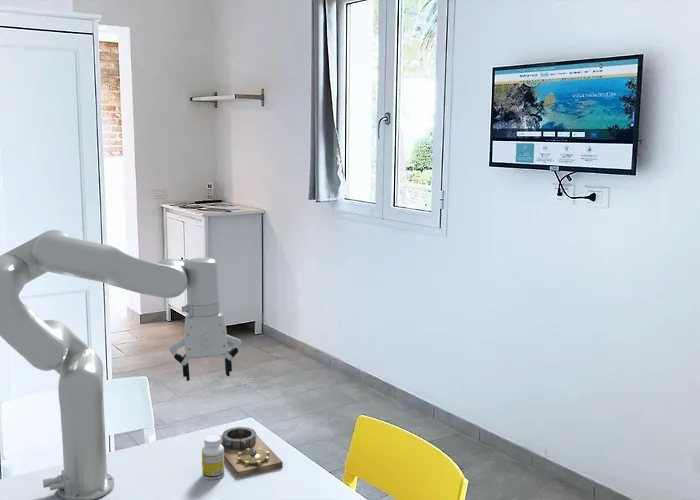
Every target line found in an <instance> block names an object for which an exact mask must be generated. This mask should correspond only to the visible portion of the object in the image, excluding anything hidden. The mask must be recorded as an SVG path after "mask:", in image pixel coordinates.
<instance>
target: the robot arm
mask: <svg viewBox="0 0 700 500" xmlns="http://www.w3.org/2000/svg"><path fill="white" fill-rule="evenodd" d="M46 273H53V274H59V275H64V276H69V277H74V278H79V279H84V280H88V281H89V280H90V281H95V282H99V283H104V284H106V285H109V286H113V287H115V288H120V289H124V290H125V291H126V290H127V291H130V292H132V293H133V292H134V293H137V294H142V295H147V296H153V297H158V298H163V299H164V298H165V299H172V298H177V297H179V296H180V295H182V294H183V293H184V292H185V290H186V300H187V301H186V302H187V304H186V305H184V306H181V312H182V313H186V315H185V318H184V329H183V330H184V331H183V333H184V334H183V339H181V340H179V341H178V342H176V343H174V344H173V345H171V346H170V347H169V352H170V354H171V355H172V356H173V358H174V360H175V361H177V362H178V363H180V364H181V365H182V375H183V377H182V378H186V382H189V381H190V380H191V379H190V367H189V365H190V364H189V362H190V360H191V359H199V358H210V357H218V356H224V357H225V358H224V367H225V368H224V369H225V374H226V376H227V377H230V375H231V372H233V368H232V367H233V365H232V363H233V361H232V360H233V359H234V357H236V356H237V354H238V353H239V350H240V348H241V347H242V344H243V341H242V340H241V339H240V338H237V337H234V336H232V335H229V334H227V326H226V320H225V316H224V313H223V312H222V311H221V309H220V308H221V307H220V294H219V293H220V291H219V289H220V288H219V275H218V274H219V273H218V264H217V261H216V259H214V258H211V257H195V258H192V259H183V258H182V259H181V258H163V259H161V260H159V261H158V262H152V261H149V260H148V261H147V260H144V259H141V258H137V257H134V256H132V255H129V254H128V253H126V252H124V251H122V250H121V249H119V248H117V247H116V246H115V247H114V246H112V245H109V244H103V243H98V242H93V241H88V240H83V239H80V238H75V237H74V238H73V237H71V236H70V235H69V234H68V233H67V232H65V231H63V230H58V229H50V230H47V231H44V232H42V233H40V234H39V235H37V236H35V237H33V238H31V239H30V240H28V241H26V242H24V243H22V244H20V245H18V246H16V247H15V248H12V249H11V250H9V251H6V252H5V253H3V254H1V255H0V337H1V338H2V339H3V340H4V341H5V342H6V343H7V344H8V345H9V346H10V347H11V348H12V349H14V350H15V352H17V353H18V354H19V355H20V356H21V357H23V358H24V360H26V361H27V362H28V363H29V364H30V365H31V366H32V367H34V368H36V369H38V370H40V371H43V372H44V371H45V372H46V371H48V372H49V371H52V370H54V371H55V372H56V373H57V374H58V375H59V378H58V379H59V380H58V384H57V385H58V386H57V390H58V391H57V392H58V393H57V394H58V402H59V409H60V410H59V412H60V426H61V437H62V438H61V439H62V440H61V441H62V443H61V444H62V459H63V470H61V474H57V476H55V477H49V478H44V479H42V486H43V489H46V488H49V490H50V491H54V490H57V494H58V496H59V498H61V499H63V500H95V499H99V498H101V497H103V496H105V495H107V494H108V493H110V492H111V491H112V490H113V488H114V486H115V479H114V476H112V475H111V474H109V473H108V469H107V467H108V466H107V445H106V444H107V443H106V441H107V440H106V425H105V424H106V423H105V422H106V421H105V406H104V405H105V403H104V365H103V361H102V359H101V358H100V356H99V355H98V354H97V353H96V352H95V350H93V349H92V348H91V346H89V345H88V344H87V343H86V342H85V341H84V340H82V339H81V338H80V336H78V335H77V334H76V333H75V332H74V331H73V330H71V328H69V327H68V326H67V325H65V323H63V322H61V321H58V320H55V319H45V320H43V319H42V318H41V317H40V316H39V315H38V313H36V312H35V311H34V310H33V309H32V308H30V307H29V306H27V305H26V304H25V303H23V302H22V301H21V299H20V293H21V292H22V290H23V289H24V286H25V285H26V284H28V283H30V282H31V281H32V282H33V280H36V279H37V278H39V277H40V276H43V275H45V274H46ZM229 343H231V344H234V345H233V347H232V348H231V350H228V349H229ZM183 347H184V354H183V355H181V354H180V353H179V352H178V350H180V349H181V348H183Z"/></svg>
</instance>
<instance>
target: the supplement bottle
mask: <svg viewBox="0 0 700 500" xmlns="http://www.w3.org/2000/svg"><path fill="white" fill-rule="evenodd" d="M220 436H221V435H217V434H211V435H207V436H205V437H204V438H203V439H204V440H203V441H204V446H202V448H201V464H202V465H201V467H202V469H201V471H202V476H203V478H204V479H206V480H218V479H221V478H222V477H224V476H225V461H224V447H223V446H222V445H221V438H220Z"/></svg>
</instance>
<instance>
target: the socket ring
mask: <svg viewBox="0 0 700 500" xmlns="http://www.w3.org/2000/svg"><path fill="white" fill-rule="evenodd" d="M256 435H257V432H256V430H255V429H253V428H251V427H246V426H238V427H231V428H229V429H226V430H225V431H223V433H222V435H221V436H222V445H223V446H224V447H225V448H227V449H231V450H244V449H248V448H251V447H253V446H254V445H255V444H256ZM238 437H240V438H244V439H233V438H238Z"/></svg>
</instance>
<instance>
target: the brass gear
mask: <svg viewBox="0 0 700 500" xmlns="http://www.w3.org/2000/svg"><path fill="white" fill-rule="evenodd" d="M265 461H266V462H268V461H269V452H268V451H266V452H265V451H263V450H262V448H258V449H250V448H248V449H246V450H245V451H243V452H239V453H238V458H237V462H238V463H240V462H242V463H244V464H245V466H249V465H258V466H259V465H261V463H263V462H265Z"/></svg>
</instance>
